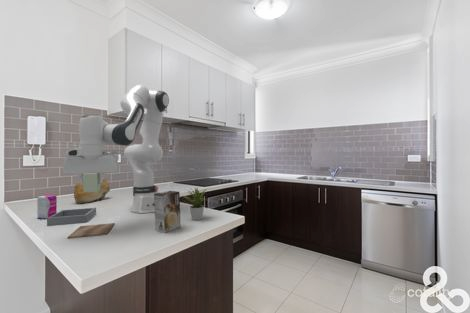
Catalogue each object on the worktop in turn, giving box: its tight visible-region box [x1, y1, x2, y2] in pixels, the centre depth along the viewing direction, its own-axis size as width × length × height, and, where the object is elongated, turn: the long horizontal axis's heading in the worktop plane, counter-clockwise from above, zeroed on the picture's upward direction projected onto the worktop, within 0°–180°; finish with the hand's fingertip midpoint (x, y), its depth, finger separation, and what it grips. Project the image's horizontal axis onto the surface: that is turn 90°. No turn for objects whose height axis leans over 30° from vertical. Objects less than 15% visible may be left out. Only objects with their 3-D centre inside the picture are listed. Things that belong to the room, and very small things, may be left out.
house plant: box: [181, 187, 210, 221], centre depth 114 cm, size 14×14×16 cm
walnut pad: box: [67, 222, 116, 239], centre depth 97 cm, size 14×14×1 cm
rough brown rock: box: [73, 178, 111, 204], centre depth 161 cm, size 23×17×15 cm
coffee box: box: [154, 190, 181, 234], centre depth 98 cm, size 9×6×16 cm
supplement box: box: [36, 194, 58, 220], centre depth 118 cm, size 6×6×12 cm
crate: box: [46, 207, 97, 227], centre depth 114 cm, size 16×16×4 cm
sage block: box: [82, 173, 101, 192], centre depth 96 cm, size 5×5×8 cm
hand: (92, 183), depth 96 cm, fingers closed on sage block, 5 cm apart
